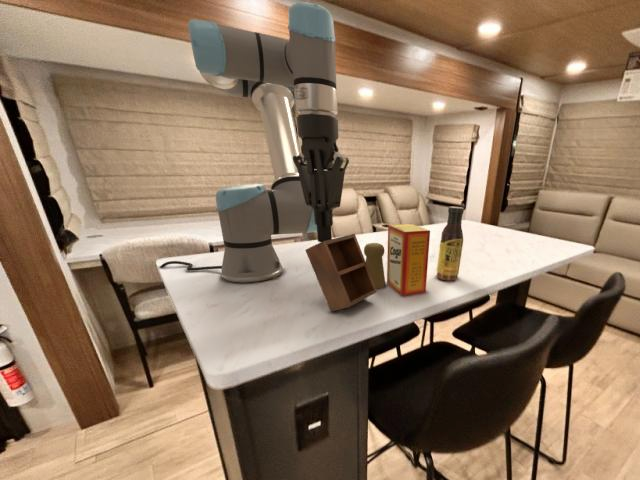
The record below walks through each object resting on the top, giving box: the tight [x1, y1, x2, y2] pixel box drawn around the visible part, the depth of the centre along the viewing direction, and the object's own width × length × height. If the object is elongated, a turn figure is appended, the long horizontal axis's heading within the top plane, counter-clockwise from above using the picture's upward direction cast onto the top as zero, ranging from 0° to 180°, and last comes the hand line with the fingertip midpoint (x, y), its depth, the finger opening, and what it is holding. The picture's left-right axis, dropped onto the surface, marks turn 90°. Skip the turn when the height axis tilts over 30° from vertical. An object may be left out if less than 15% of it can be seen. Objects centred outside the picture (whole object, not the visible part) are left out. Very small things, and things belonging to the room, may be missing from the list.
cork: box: [363, 242, 386, 290], centre depth 80 cm, size 6×6×11 cm
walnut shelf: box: [304, 233, 378, 312], centre depth 67 cm, size 14×10×6 cm
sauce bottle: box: [436, 206, 465, 282], centre depth 85 cm, size 6×6×20 cm
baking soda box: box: [386, 223, 431, 297], centre depth 78 cm, size 10×6×16 cm
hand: (324, 240), depth 67 cm, fingers closed
